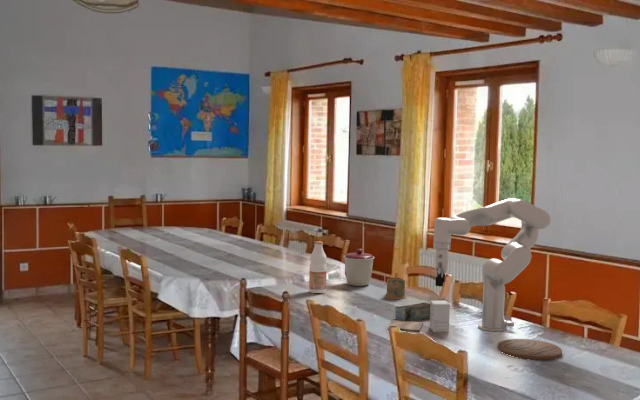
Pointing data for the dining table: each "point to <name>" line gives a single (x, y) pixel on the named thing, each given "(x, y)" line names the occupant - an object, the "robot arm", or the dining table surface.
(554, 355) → the trivet
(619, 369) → the dining table surface
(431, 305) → the supplement box
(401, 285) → the rusty metal bell
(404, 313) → the beverage carton
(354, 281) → the canister
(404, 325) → the tan square board
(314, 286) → the fruit juice
